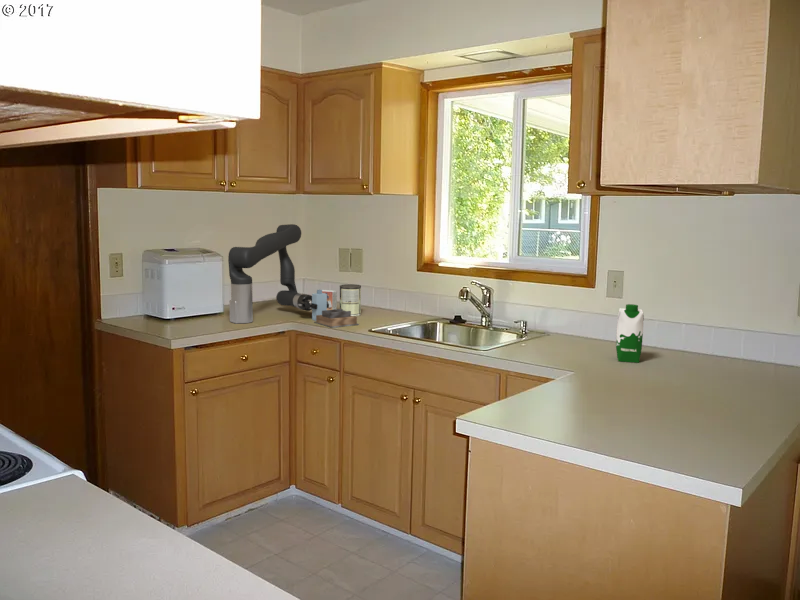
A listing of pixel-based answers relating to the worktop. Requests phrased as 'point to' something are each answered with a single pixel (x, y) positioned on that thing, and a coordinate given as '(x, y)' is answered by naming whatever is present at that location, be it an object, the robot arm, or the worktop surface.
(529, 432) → the worktop surface
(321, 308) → the blue rectangular bottle
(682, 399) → the worktop surface
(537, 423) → the worktop surface
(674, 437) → the worktop surface
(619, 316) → the milk carton
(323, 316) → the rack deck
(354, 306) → the coffee can
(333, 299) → the small box
